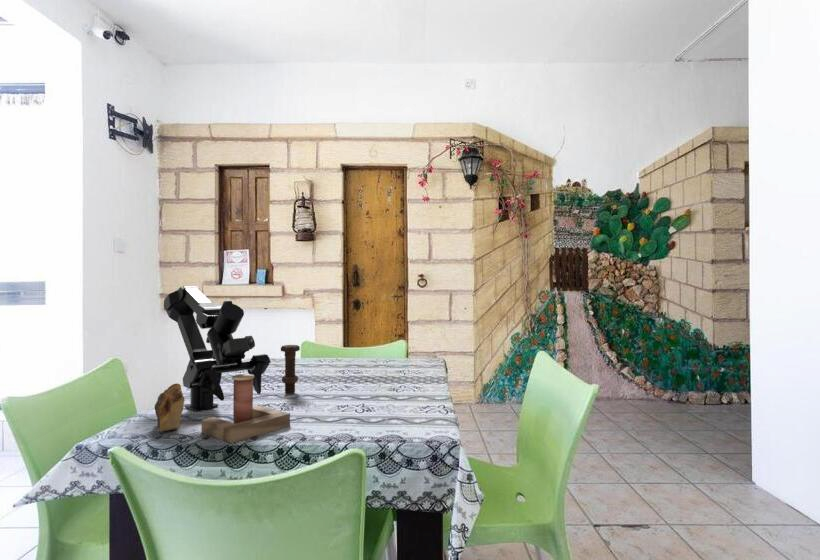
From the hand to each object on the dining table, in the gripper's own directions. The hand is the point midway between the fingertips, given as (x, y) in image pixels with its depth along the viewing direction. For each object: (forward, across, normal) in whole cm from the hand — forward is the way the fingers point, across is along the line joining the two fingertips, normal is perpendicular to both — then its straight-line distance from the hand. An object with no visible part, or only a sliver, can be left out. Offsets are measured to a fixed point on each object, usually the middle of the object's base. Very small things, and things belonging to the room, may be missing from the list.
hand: (241, 396), depth 115 cm
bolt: (-11, +27, +22) cm, 36 cm away
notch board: (+7, 0, +4) cm, 8 cm away
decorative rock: (-2, -13, +13) cm, 18 cm away
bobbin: (+6, 0, +5) cm, 7 cm away
